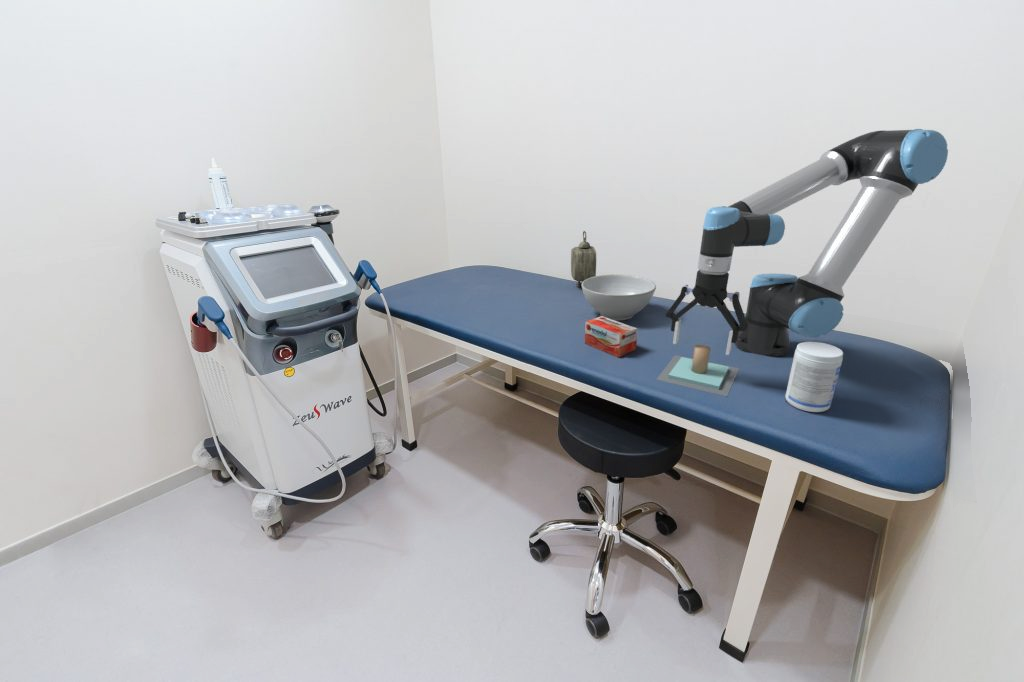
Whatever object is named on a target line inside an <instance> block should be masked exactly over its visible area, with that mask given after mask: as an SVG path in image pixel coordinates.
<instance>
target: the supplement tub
mask: <svg viewBox="0 0 1024 682" xmlns="http://www.w3.org/2000/svg"><path fill="white" fill-rule="evenodd" d="M843 356H844V352H843V350H842V349H840V348H839V347H837V346H835V345H832V344H829V343H824V342H820V341H804V342H800V343H798V344H797V345H796V348H795V350H794V354H793V359H792V365H791V369H790V372H789V377H788V382H787V387H786V392H785V400H786V402H787V403H788V404H790V406H792V407H794V408H796V409H798V410H801V411H806V412H811V413H822V412H826V411H827V410H829V409H830V408H831V406H832V402H833V398H834V394H835V391H836V387H837V383H838V379H839V377H840V373H841V372H840V371H841V367H842V363H843V359H844V358H843Z"/></svg>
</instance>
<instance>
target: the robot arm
mask: <svg viewBox="0 0 1024 682" xmlns="http://www.w3.org/2000/svg"><path fill="white" fill-rule="evenodd" d="M948 154H949V150H948V143H947V140H946V138H945V137H944V135H943V134H942V133H940V132H939V131H937V130H933V129H922V128H914V129H902V130H901V129H898V130H897V129H896V130H893V129H892V130H875V131H870V132H867V133H864V134H861V135H859V136H856V137H855V138H852V139H850V140H847V141H845V142H843V143H840V144H839V145H837V146H835V147H832V148H830V149H829V150H827V151H825V152H824V153H822V154H821V156H820V157H819V159H818V160H816V161H814V162H812V163H810V164H808V165H806V166H804V167H802V168H801V169H799V170H797V171H795V172H793V173H791V174H789V175H787V176H785V177H783V178H781V179H779V180H777V181H776V182H773V183H771V184H770V185H768V186H766V187H764V188H762V189H760V190H758V191H756V192H754V193H753V194H750V195H748V196H747V197H744V198H743V199H740V200H739V201H737V202H734V203H733V204H731V205H729V206H715V207H714V206H713V207H711V208H709V209H707V211H706V213H705V217H704V221H703V226H702V236H701V243H700V252H699V256H698V264H697V269H699V270H697V271H696V276H695V277H696V278H695V283H694V286H693V287H692V286H689V284H684V285H683V286H682V287H681V290H680V294H679V295H678V297H677V298H676V299H675V301H674V302H673V303H672V305H671V307H670V308H669V310H668V311H667V312H666V314H665V317H666V318H669V319H671V326H670V331H671V332H673V341H672V344H673V345H676V344H677V343H678V342H679V337H680V331H681V323H682V319H681V317H682V316H683V315H685V314H686V313H687V312H688V311H689V310H691V309H692V308H694V307H695V306H697V305H699V306H701V307H707V308H711V309H712V308H716V309H717V310H718V311H719V312H720V313H721V315H722V316H723V317H724V319H725V320H726V322H727V324H728V325H729V326H730V328H731V329H730V330H729V332H728V333H729V334H728V339H727V344H726V350H725V356H729V355H730V353H731V351H732V346H733V345H732V344H734V345H735V346H736V348H738V349H739V350H741V351H743V352H745V353H749V354H754V355H758V356H765V357H769V358H770V357H772V358H773V357H782V356H785V355H787V354H788V353H789V352H790V347H791V341H790V335H789V330H791V332H792V333H795V334H796V335H801V336H803V337H805V338H818V337H821V336H825V335H828V334H829V333H830V332H832V331H833V330H834V329H836V327H837V326H838V325H839V324H840V322H841V321H842V319H843V317H844V305H843V304H842V303H841V302H842V300H843V299H844V298H845V294H844V290H843V287H844V285H845V283H846V282H847V281H848V279H849V277H850V276H851V275H852V273H853V271H854V270H855V268H856V267H857V265H858V264H859V262H860V261H861V259H862V258H863V257H864V255H865V253H866V252H867V250H868V249H869V247H870V245H871V244H872V243H873V241H874V240H875V238H876V237H877V235H878V233H880V231H881V229H882V228H883V226H884V224H885V223H886V221H887V220H888V218H889V217H890V215H891V213H892V212H893V211H894V209H895V208H896V206H897V204H898V203H899V202H900V201H901V200H902V199H905V198H907V197H910V196H912V195H913V193H914V192H915V190H916V189H917V187H918V186H919V185H923V184H926V183H929V182H930V181H931V180H934V179H936V178H937V177H938V176H939V175H940V174H941V172H942V171H943V169H944V167H945V165H946V163H947V160H948V157H949V156H948ZM853 180H859V182H860V185H861V189H860V190H859V192H858V193H857V195H856V197H855V198H854V200H853V201H852V203H851V205H850V207H849V208H848V209H847V211H846V212H845V214H844V215H843V217H842V219H841V221H840V222H839V224H838V225H837V227H836V229H835V230H834V232H833V233H832V235H831V237H830V238H829V240H828V241H827V243H826V244H825V245H824V248H823V249H822V251H821V253H820V254H819V256H818V257H817V258H816V261H815V262H814V264H813V265H812V267H811V268H810V270H809V271H808V273H807V274H804V275H801V276H797V275H795V274H789V273H788V274H787V273H776V272H775V273H761V274H757V275H755V276H754V277H753V278H752V280H751V284H750V286H749V292H748V299H747V300H748V301H747V307H746V312H745V313H744V311H743V306H742V305H741V304H742V303H741V301H740V292H739V291H735V292H728V290H727V288H728V282H729V277H730V273H729V271H730V270H731V267H732V266H731V265H732V260H733V254H734V248H739V247H765V246H766V247H767V246H773V245H776V244H778V243H779V242H780V241H781V240H782V238H783V237H784V236H785V230H786V224H785V221H784V219H783V218H782V216H780V215H779V214H776V213H778V212H781V211H782V210H784V209H787V208H789V207H790V206H793V205H794V204H797V203H798V202H800V201H802V200H804V199H806V198H808V197H810V196H812V195H814V194H816V193H818V192H820V191H823V189H826V188H828V187H830V186H841V185H842V184H844V183H846V182H849V181H853ZM689 294H692V296H693V297H694V299H692V301H690V302H688V303H687V305H685V306H684V307H683V308H681V309H680V310H679V311H677V312H676V313H674V312H675V311H676V309H677V308H678V307H679V306H680V304H681V302H683V301H684V299H685V297H686V296H688V295H689ZM726 299H729V301H730V303H732V308H733V310H734V313H735V316H736V318H737V320H736V319H735V317H734V316H733V314H732V312H731V311H730V310H729V308H728V307H727V304H726V302H724V300H726ZM737 321H738V322H737Z"/></svg>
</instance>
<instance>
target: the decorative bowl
mask: <svg viewBox="0 0 1024 682" xmlns="http://www.w3.org/2000/svg"><path fill="white" fill-rule="evenodd" d="M581 289H582V292H583V296H584V297H585V300H586V301H587V303H588V305H589V306H590V307H591V308H592V309H593V310H595V312H597V313H598V314H599V317H601V316H603V317H606V318H609V319H611V320H614V321H626V319H627V320H630V319H632V318H633V317H634V315H636V314H638V313H639V312H641V311H642V310H644V308H645V307H647V305H648V304H649V303H650V302H651V300H652V298H653V296H654V294H655V292H656V289H657V285H656V283H655V282H654V281H652V280H650V279H648V278H645V277H641V276H636V275H631V274H630V275H629V274H602V275H596V276H595V277H591V278H588V279H586V280H584V281H583V282H581Z"/></svg>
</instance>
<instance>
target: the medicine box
mask: <svg viewBox="0 0 1024 682" xmlns="http://www.w3.org/2000/svg"><path fill="white" fill-rule="evenodd" d="M584 324H585V325H584V326H585V327H584V344H585V345H587V346H590V347H592V348H595V349H597V350H599V351H601V352H604V353H607V354H609V355H611V356H613V357H615V358H617V359H618V358H622V357H623V356H625V355H627V354H630V353H631V352H634V351H636V350H637V344H638V343H637V342H638V328H637V327H634V326H631V325H628V324H625V323H623V322H620V321H618V320H611V319H609V318H606V317H603V316H599V317H596V318H593V319H589V320H587V321H585V323H584Z"/></svg>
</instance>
